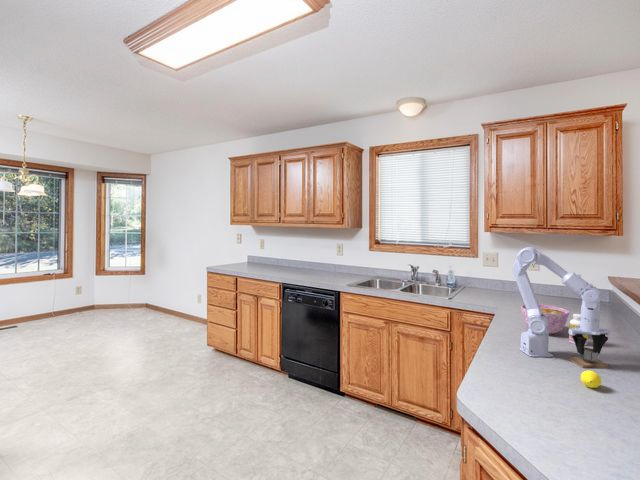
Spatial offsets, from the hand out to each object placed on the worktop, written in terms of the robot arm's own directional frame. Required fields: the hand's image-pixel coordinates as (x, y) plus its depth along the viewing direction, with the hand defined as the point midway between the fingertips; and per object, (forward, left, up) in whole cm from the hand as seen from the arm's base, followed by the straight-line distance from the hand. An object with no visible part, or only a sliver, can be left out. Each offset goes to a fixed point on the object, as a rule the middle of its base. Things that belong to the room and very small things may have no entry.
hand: (588, 353), depth 130 cm
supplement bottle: (+13, +22, -4) cm, 26 cm away
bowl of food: (+8, +38, -4) cm, 39 cm away
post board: (0, 0, -4) cm, 4 cm away
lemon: (-14, -19, -4) cm, 24 cm away
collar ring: (0, 0, -2) cm, 2 cm away
